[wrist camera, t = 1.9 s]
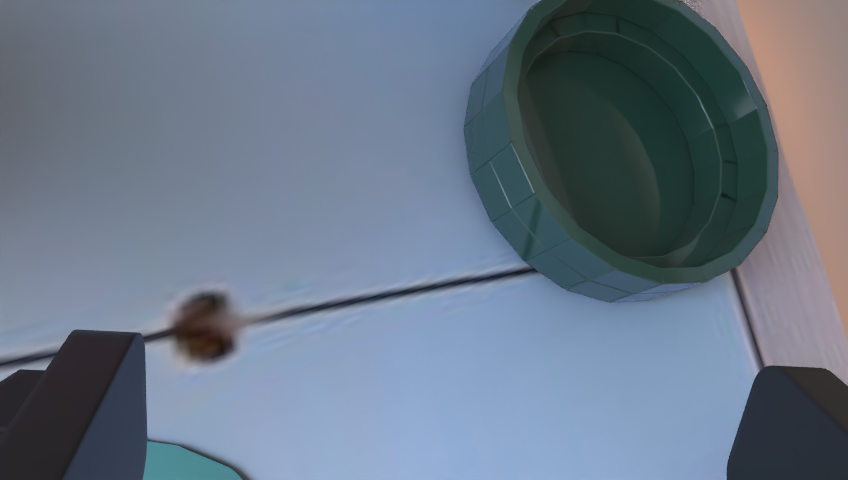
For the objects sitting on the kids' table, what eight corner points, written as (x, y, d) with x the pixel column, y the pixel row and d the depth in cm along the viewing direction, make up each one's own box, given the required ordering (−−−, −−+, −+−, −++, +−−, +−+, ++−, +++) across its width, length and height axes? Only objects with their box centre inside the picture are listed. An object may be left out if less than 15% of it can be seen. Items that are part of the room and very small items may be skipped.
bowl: (398, 122, 33) (436, 75, 29) (585, -16, 40) (637, -70, 36) (602, 368, 34) (668, 355, 30) (754, 191, 40) (825, 161, 36)
